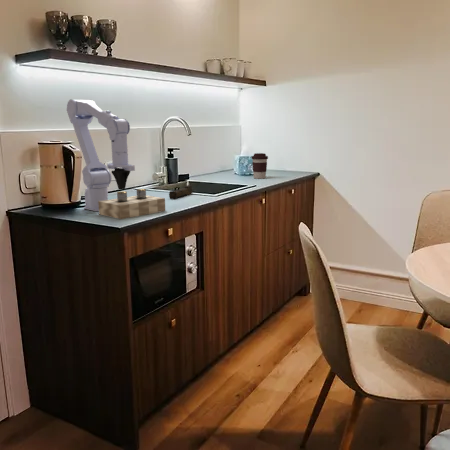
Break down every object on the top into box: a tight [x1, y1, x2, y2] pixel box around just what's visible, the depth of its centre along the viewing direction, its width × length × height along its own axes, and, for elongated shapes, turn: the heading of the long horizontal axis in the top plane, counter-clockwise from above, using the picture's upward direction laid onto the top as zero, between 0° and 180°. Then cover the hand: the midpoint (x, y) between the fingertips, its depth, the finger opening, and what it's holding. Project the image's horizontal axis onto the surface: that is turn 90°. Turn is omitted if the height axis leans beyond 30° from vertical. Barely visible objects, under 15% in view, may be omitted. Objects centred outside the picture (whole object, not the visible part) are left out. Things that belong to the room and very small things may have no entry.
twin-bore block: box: [98, 194, 166, 220], centre depth 181 cm, size 14×21×5 cm, turn 138°
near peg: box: [116, 190, 128, 203], centre depth 177 cm, size 4×4×4 cm
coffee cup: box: [251, 152, 269, 180], centre depth 286 cm, size 10×10×15 cm
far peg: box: [135, 188, 147, 200], centre depth 184 cm, size 4×4×4 cm
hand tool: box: [168, 184, 193, 200], centre depth 221 cm, size 19×4×5 cm, turn 154°
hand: (121, 189), depth 176 cm, fingers closed
